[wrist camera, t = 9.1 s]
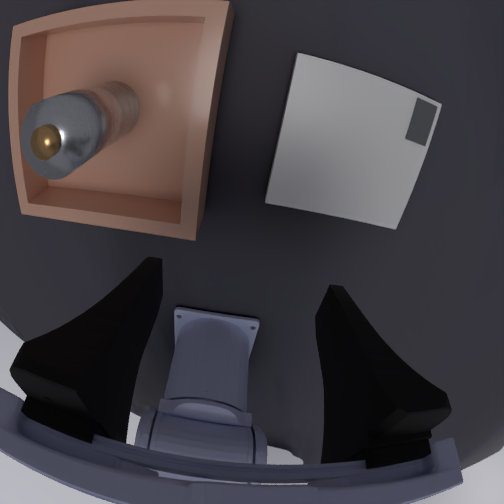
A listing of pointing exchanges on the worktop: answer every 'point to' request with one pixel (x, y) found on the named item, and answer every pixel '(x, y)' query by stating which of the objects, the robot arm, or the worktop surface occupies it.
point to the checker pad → (349, 143)
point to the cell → (76, 127)
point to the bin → (150, 118)
